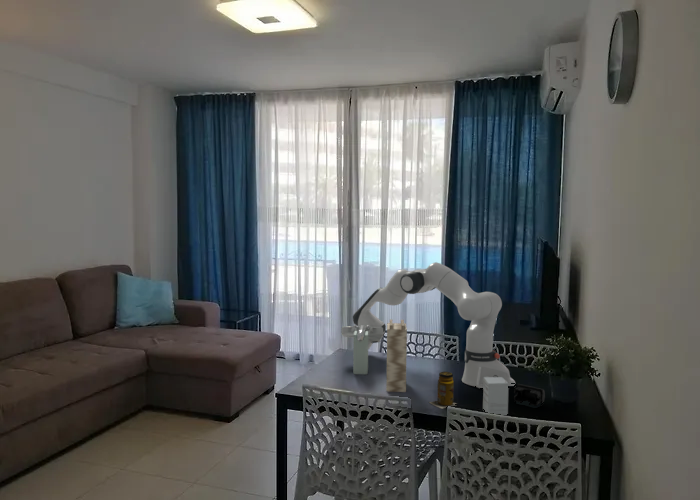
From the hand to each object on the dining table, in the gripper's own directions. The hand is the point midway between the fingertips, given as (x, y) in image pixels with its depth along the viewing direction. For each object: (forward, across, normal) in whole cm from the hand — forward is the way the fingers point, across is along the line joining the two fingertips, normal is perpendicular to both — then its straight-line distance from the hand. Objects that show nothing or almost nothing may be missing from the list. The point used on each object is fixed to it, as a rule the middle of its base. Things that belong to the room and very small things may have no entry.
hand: (361, 327), depth 248 cm
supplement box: (+35, +52, +43) cm, 76 cm away
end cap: (+26, +67, +38) cm, 81 cm away
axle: (+4, 0, +6) cm, 7 cm away
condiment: (+28, +34, +39) cm, 59 cm away
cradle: (-4, 0, +20) cm, 20 cm away
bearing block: (+13, +16, +30) cm, 36 cm away
